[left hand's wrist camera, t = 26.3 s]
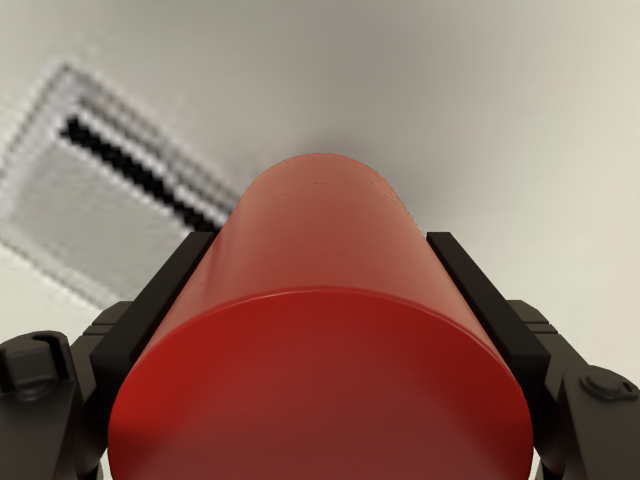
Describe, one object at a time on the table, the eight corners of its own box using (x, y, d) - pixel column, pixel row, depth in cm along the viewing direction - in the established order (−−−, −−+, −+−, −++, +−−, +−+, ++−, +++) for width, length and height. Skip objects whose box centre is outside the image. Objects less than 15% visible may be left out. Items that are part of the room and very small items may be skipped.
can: (210, 283, 17) (69, 550, 8) (267, 123, 15) (167, 211, 5) (363, 337, 18) (412, 634, 9) (439, 195, 16) (628, 382, 6)
